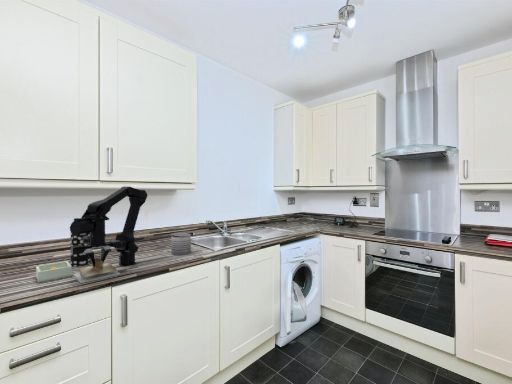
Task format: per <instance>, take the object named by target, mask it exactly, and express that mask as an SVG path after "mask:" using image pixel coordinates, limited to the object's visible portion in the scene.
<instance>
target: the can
mask: <svg viewBox="0 0 512 384" xmlns="http://www.w3.org/2000/svg"><path fill="white" fill-rule="evenodd" d="M170 238H171V244H170V245H171V247H170V248H171V252H170V253H171V255H172V256H175V257H182V256H188V255H190V254H191V252H192V251H191V249H192V245H191V242H192V239H191V238H192V234H191V233H187V232H172V233H171V237H170Z"/></svg>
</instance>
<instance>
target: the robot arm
mask: <svg viewBox="0 0 512 384" xmlns="http://www.w3.org/2000/svg"><path fill="white" fill-rule="evenodd" d="M126 197H128V201H129V205H130V206H129V209H128V211H127V216H126V218H125V222H124V225H123V228H122V231H121V233H117V234H116V236H115V240H110V241H109V242H108V243H107V242H106V235H107V234H106V221H109V220H110V218H109V217H108V216H107V215H108V213H109V212H111V210H112V207H113V206H115V205H116V204H118V203H119V202H121V201H122V200H124V199H125V198H126ZM147 198H148V193H147V192H146V190H144V189H138V188H135V187H132V186H121V188H119V189H118V190H116V191H115V192H113V193H112V194H110V195H108V196H107V197H105V198H104V199H100V200H97V201H94V202H90V203H89V204H88V205H87V208H86V210H85V211H84V212H83V214H82V215H81V217H80V218H79V217H76V218H73V221H72V222H71V224H70V226H69V231H70V234H71V233H72V234H73V235H80V234H85V233H90V236H89V237H88V236H83V244H84V243H88V245H90V246H83V245H76V246H72V247H71V246H70V254H71V253H72V254H73V255H76V254H82V253H84V254H85V255H88V256H89V258H90V260H91V263H90V264H91V266H93V267H95V260H94V259H95V252H94V250H99V249H100V251H101V253H100V259H101V260H102V261H103V263H104V262H105V261H106V258H107V256H108V254H109V253H110V252H112V248H114V249H116V252H117V253H119V255H118V264H119V265H121V267H126V266H130V265H131V266H132V265H135V264H137V262H136V253H137V252H138V251H139V247H138V245H137V244H136V243H135V240H136V239H135V235H134V232H135V228H136V225H137V221H138V217H139V213H140V210H141V207H142V206H143V205H144V204H145V203H146V201H147Z"/></svg>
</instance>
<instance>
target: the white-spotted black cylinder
mask: <svg viewBox="0 0 512 384" xmlns="http://www.w3.org/2000/svg"><path fill="white" fill-rule="evenodd" d="M83 236H88V237H89V236H90V233H85V234H80V235H73V234H72V233H71V232H70V248H71V247H72V246H76V245H83V246H90V245H88V243H84V244H83ZM90 264H92V263H91V260H90V258H89V256H88V255H85V254H84V253H82V254H76V255H73V254H72V253H71V252H70V265H71V266H72V267H85V266H87V265H90Z"/></svg>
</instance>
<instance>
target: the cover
mask: <svg viewBox="0 0 512 384" xmlns="http://www.w3.org/2000/svg"><path fill="white" fill-rule="evenodd" d="M94 260H95V267H93V265H90V266H84V267H80V268H78V271H79V272H78V273H81V274H82V275H83V276H84V277H89V276H93V275H98V274H103V273H108V272H112V271H118V270H117V268H116V267H115V266H114V265H112V264H111V263H109V262H107V263H104V262H103V261H102V260H101V257H94Z"/></svg>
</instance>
